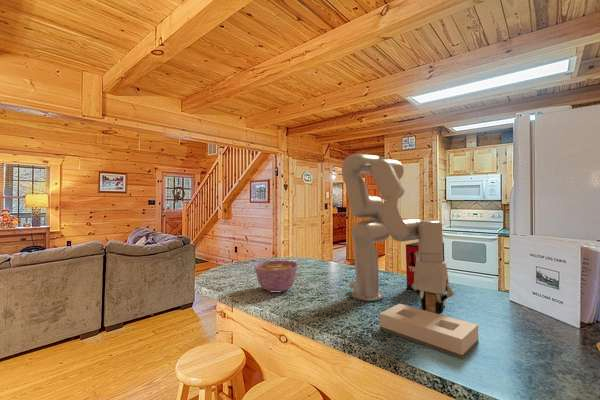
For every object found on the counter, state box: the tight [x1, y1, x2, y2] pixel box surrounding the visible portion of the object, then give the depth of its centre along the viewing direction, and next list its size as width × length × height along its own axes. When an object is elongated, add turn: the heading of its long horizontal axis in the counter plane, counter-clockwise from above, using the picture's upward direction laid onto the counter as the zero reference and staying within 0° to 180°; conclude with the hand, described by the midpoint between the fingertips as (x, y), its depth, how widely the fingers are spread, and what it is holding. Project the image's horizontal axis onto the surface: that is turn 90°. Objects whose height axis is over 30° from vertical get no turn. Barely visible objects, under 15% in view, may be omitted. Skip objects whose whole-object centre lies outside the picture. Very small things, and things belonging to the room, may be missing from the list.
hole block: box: [379, 303, 479, 360], centre depth 87 cm, size 12×24×5 cm, turn 42°
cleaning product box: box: [405, 241, 445, 292], centre depth 133 cm, size 16×9×20 cm, turn 127°
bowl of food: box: [254, 260, 299, 292], centre depth 135 cm, size 20×20×12 cm
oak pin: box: [425, 291, 437, 313], centre depth 99 cm, size 4×4×9 cm
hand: (432, 310), depth 99 cm, fingers closed on oak pin, 4 cm apart
